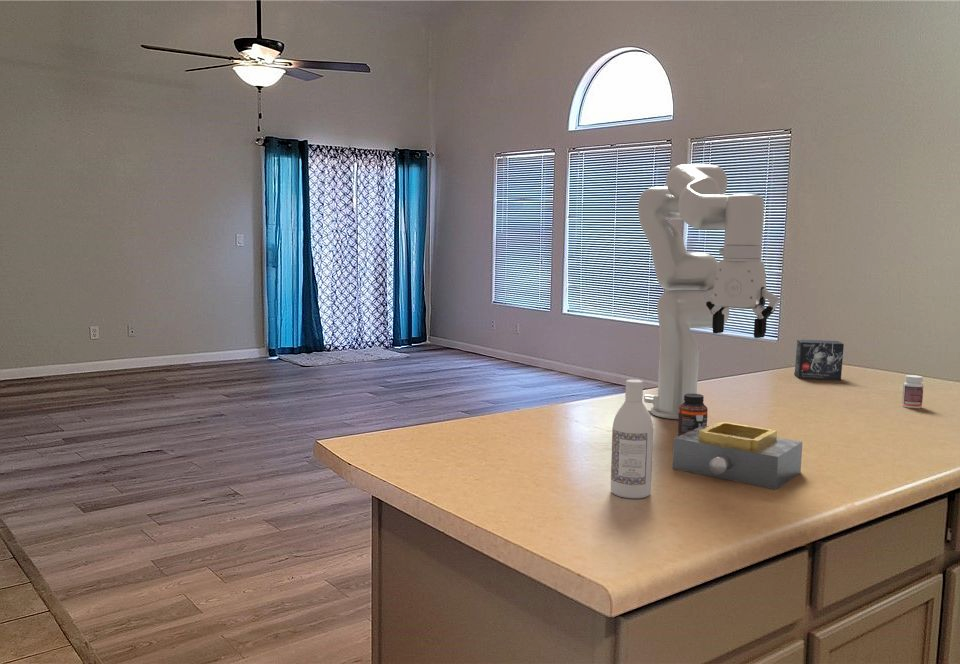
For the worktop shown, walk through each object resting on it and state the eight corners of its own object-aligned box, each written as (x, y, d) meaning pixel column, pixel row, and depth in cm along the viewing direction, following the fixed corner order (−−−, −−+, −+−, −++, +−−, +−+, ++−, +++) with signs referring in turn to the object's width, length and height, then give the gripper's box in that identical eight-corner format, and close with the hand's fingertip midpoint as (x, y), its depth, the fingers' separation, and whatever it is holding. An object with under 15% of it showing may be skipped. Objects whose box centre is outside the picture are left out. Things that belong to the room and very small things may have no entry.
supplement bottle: (706, 451, 170) (709, 398, 169) (677, 449, 171) (680, 396, 170) (704, 444, 176) (707, 392, 174) (676, 442, 177) (678, 391, 176)
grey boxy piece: (665, 471, 155) (667, 432, 154) (701, 453, 168) (703, 416, 167) (770, 493, 142) (773, 450, 141) (800, 472, 156) (803, 432, 155)
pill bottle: (925, 408, 215) (927, 377, 214) (907, 408, 215) (909, 377, 214) (916, 405, 220) (918, 374, 219) (898, 404, 220) (900, 374, 219)
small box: (798, 378, 259) (800, 341, 258) (793, 375, 266) (795, 339, 264) (841, 380, 257) (844, 343, 256) (836, 376, 264) (838, 340, 262)
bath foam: (623, 484, 146) (626, 375, 144) (657, 492, 142) (662, 380, 140) (602, 493, 141) (606, 380, 139) (638, 502, 137) (642, 386, 134)
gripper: (696, 253, 173) (693, 332, 175) (771, 255, 160) (766, 340, 162) (716, 252, 178) (712, 330, 180) (790, 255, 165) (785, 338, 167)
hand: (738, 335), depth 171 cm, fingers open, 9 cm apart
